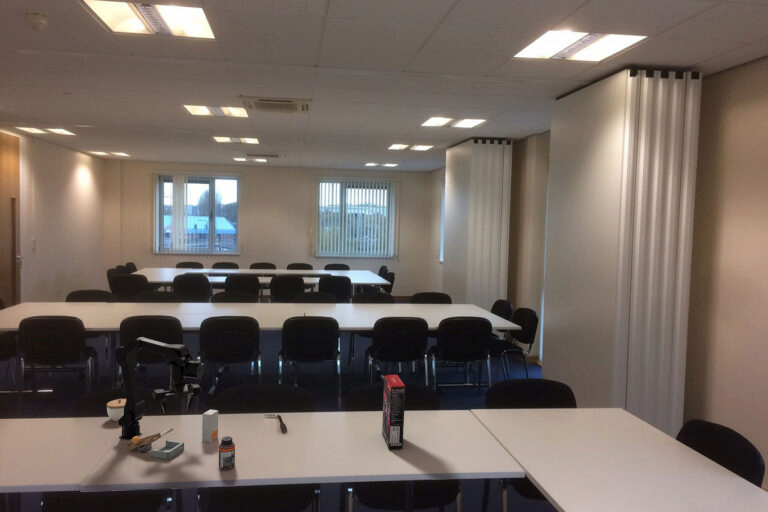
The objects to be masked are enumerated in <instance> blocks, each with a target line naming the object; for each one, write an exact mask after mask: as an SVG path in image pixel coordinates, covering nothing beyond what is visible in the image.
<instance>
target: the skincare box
mask: <svg viewBox="0 0 768 512" xmlns="http://www.w3.org/2000/svg"><path fill="white" fill-rule="evenodd" d="M201 420H202V423H201V424H202V425H201V427H202V428H201V431H202V433H201V435H202V436H201V441H202V442H206V443H212V442H213V441H214V440H216V439H218V437H219V410H217V409H209V410H207V411H205V412H204V413H202V419H201Z"/></svg>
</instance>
